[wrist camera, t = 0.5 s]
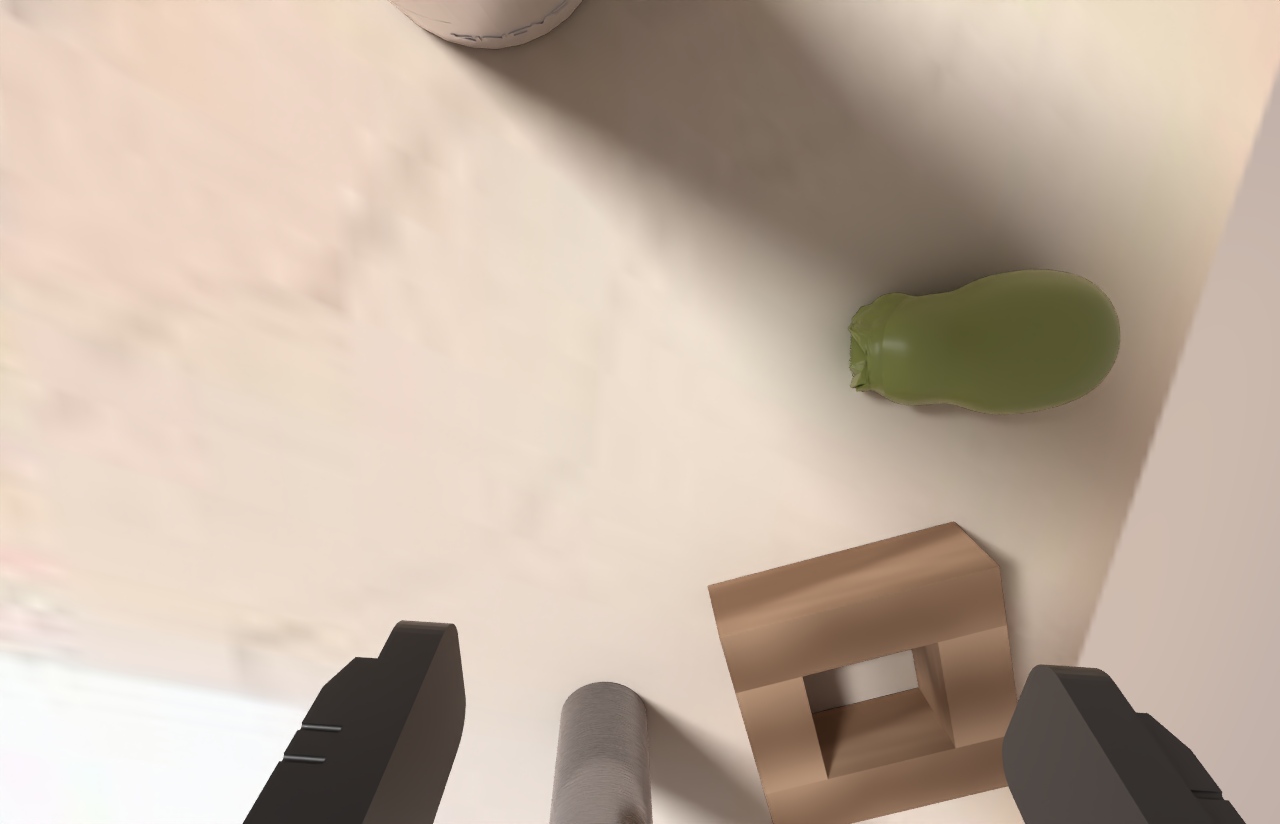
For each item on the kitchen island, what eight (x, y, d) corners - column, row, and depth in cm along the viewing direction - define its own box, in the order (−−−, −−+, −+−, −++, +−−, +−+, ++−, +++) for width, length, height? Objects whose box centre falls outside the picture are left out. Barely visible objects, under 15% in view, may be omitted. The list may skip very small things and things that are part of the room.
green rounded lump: (1141, 423, 25) (856, 444, 26) (1073, 380, 30) (838, 400, 31) (1157, 269, 23) (851, 303, 25) (1083, 251, 28) (832, 280, 30)
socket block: (707, 585, 33) (719, 638, 29) (953, 521, 32) (999, 566, 28) (761, 772, 36) (778, 841, 32) (983, 718, 36) (1027, 781, 32)
